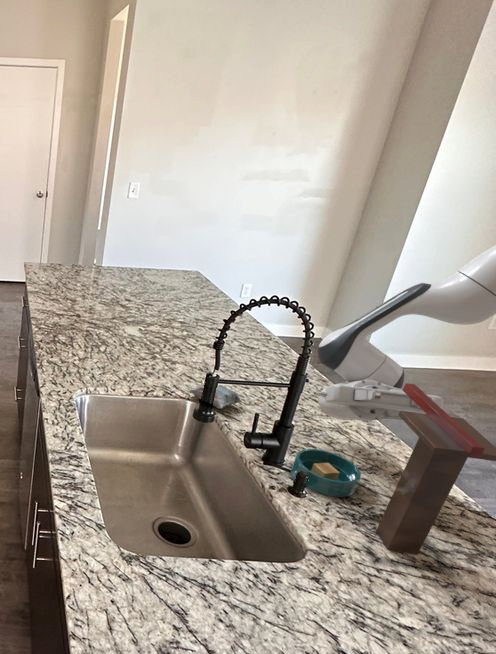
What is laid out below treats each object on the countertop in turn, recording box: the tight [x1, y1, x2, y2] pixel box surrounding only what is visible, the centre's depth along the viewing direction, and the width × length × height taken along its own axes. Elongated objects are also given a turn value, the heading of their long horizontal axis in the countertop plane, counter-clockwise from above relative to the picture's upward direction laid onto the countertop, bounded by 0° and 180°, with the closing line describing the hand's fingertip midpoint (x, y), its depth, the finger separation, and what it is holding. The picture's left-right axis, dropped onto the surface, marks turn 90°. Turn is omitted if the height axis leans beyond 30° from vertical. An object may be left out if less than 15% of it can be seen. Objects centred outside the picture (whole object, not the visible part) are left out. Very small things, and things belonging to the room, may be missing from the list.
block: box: [311, 463, 340, 481], centre depth 118 cm, size 4×4×4 cm
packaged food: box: [186, 383, 243, 410], centre depth 149 cm, size 9×12×5 cm
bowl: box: [290, 448, 362, 498], centre depth 117 cm, size 12×12×5 cm
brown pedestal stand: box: [375, 411, 496, 556], centre depth 96 cm, size 12×12×26 cm
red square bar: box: [402, 383, 485, 457], centre depth 93 cm, size 2×22×2 cm, turn 167°
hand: (403, 398), depth 104 cm, fingers open, 8 cm apart
